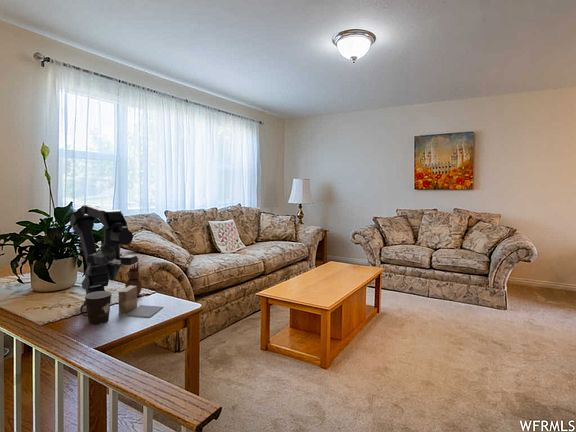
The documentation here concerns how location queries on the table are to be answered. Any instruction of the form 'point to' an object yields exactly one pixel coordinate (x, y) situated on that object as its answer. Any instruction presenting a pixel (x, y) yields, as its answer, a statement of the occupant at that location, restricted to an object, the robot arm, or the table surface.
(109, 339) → the table surface
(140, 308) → the rubber mat
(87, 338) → the table surface
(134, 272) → the wooden figurine
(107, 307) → the coffee mug
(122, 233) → the robot arm
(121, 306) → the wooden block
